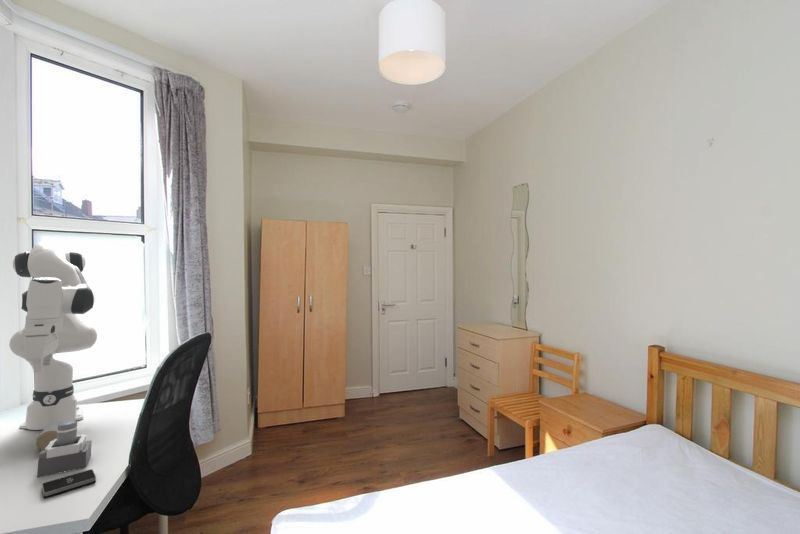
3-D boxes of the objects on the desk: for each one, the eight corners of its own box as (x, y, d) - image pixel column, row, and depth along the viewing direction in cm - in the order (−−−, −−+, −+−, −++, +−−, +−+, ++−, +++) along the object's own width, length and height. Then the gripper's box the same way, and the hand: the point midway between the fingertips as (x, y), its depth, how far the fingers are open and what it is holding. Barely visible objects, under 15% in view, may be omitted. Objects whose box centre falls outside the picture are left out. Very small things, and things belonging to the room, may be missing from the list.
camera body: (46, 464, 116) (47, 440, 116) (90, 455, 122) (91, 432, 122) (37, 477, 108) (38, 451, 108) (85, 467, 114) (86, 443, 114)
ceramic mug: (33, 454, 122) (35, 431, 122) (42, 444, 129) (43, 422, 129) (75, 448, 127) (76, 426, 127) (81, 439, 134) (82, 418, 134)
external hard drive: (96, 484, 106) (96, 477, 106) (42, 501, 98) (43, 493, 98) (92, 475, 110) (92, 468, 111) (40, 490, 102) (41, 483, 102)
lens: (51, 453, 113) (52, 426, 113) (65, 446, 118) (66, 420, 118) (67, 453, 113) (68, 426, 113) (80, 446, 118) (81, 420, 118)
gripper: (40, 323, 127) (39, 363, 127) (20, 331, 110) (18, 377, 110) (64, 322, 131) (63, 361, 130) (48, 329, 113) (46, 374, 113)
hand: (42, 369), depth 120 cm, fingers open, 8 cm apart
